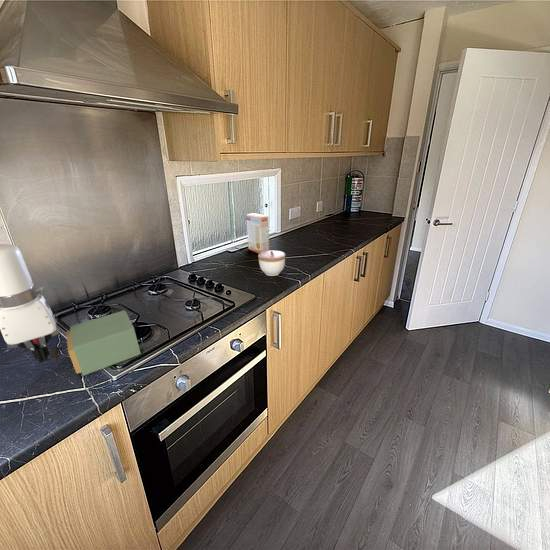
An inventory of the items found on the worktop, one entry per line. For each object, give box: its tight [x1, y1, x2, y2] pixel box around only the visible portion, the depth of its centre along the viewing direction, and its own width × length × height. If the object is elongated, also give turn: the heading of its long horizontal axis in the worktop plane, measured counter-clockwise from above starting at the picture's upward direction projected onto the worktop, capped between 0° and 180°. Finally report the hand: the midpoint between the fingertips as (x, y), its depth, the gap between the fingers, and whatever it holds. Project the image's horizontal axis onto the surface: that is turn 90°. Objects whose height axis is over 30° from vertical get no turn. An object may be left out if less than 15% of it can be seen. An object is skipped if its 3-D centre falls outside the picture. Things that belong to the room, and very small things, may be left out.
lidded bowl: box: [257, 250, 286, 277], centre depth 136 cm, size 13×13×11 cm
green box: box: [69, 310, 142, 377], centre depth 85 cm, size 15×13×9 cm
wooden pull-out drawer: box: [50, 330, 82, 375], centre depth 82 cm, size 18×11×7 cm, turn 126°
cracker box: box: [245, 212, 270, 255], centre depth 165 cm, size 14×6×21 cm, turn 37°
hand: (43, 358), depth 77 cm, fingers closed
